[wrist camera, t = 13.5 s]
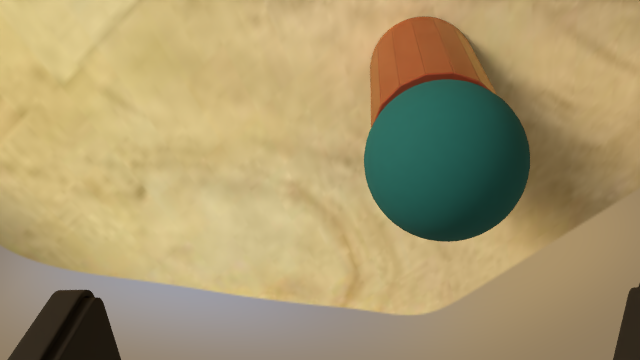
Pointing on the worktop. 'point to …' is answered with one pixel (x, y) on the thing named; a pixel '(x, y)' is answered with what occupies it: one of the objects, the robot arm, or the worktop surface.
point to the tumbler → (420, 59)
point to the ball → (447, 160)
